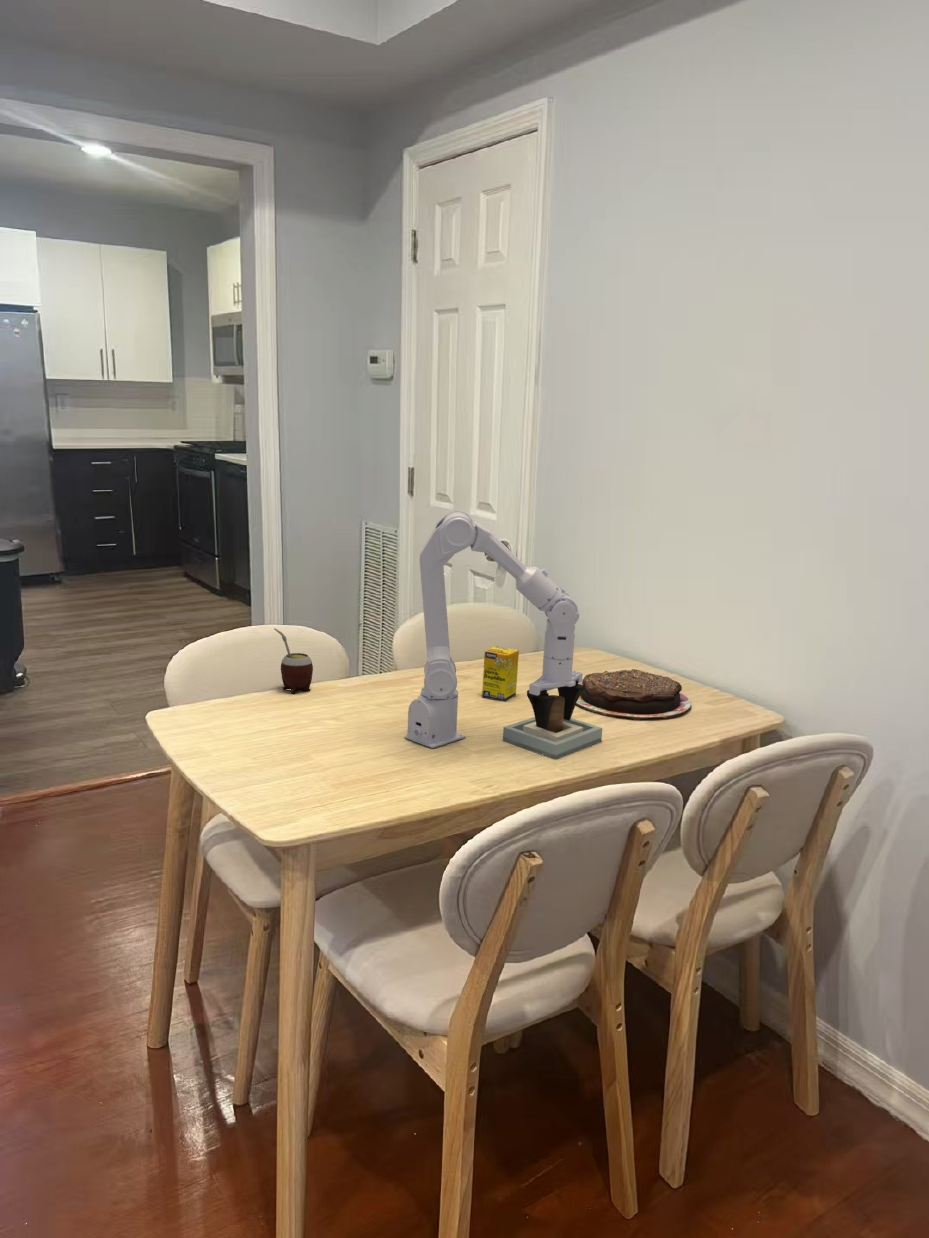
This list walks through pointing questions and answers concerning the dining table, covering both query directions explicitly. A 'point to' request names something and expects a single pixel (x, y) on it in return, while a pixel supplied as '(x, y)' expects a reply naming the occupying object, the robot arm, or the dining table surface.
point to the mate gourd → (296, 670)
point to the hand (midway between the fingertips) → (553, 723)
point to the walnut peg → (556, 715)
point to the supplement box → (500, 673)
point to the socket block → (567, 732)
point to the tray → (551, 748)
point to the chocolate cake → (632, 695)
